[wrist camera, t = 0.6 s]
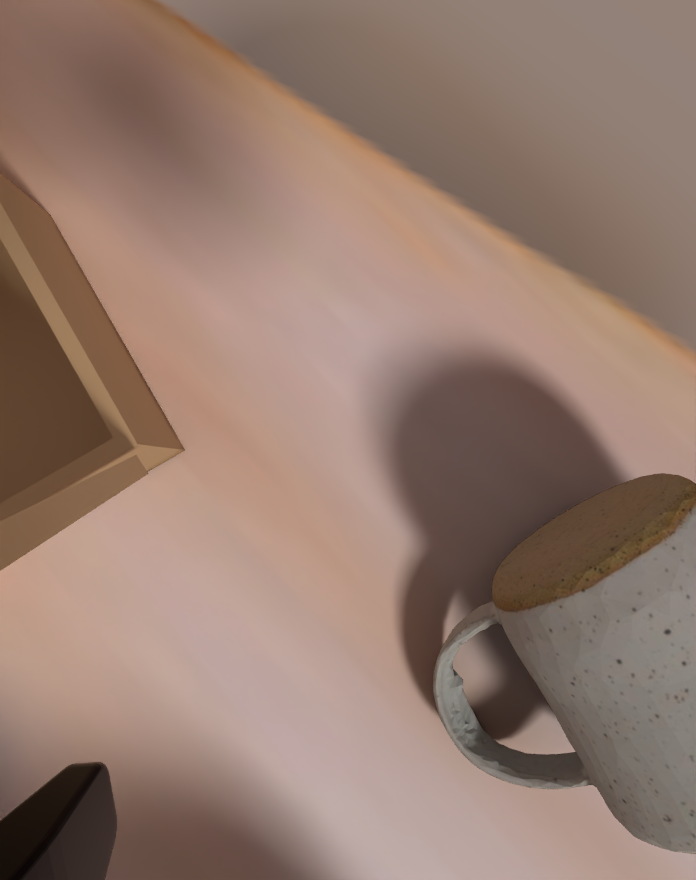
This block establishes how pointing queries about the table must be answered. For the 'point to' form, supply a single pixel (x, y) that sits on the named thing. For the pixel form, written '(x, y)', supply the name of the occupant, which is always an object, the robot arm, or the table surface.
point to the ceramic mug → (601, 655)
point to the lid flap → (63, 509)
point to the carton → (62, 369)
